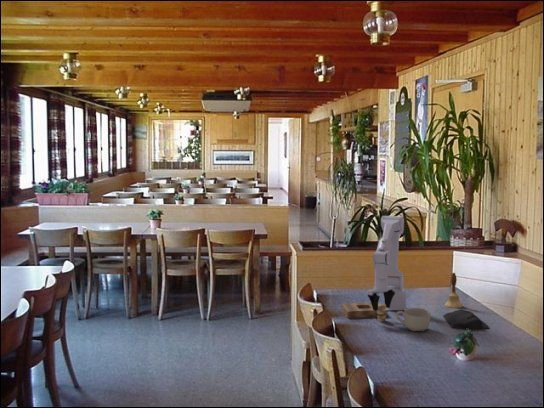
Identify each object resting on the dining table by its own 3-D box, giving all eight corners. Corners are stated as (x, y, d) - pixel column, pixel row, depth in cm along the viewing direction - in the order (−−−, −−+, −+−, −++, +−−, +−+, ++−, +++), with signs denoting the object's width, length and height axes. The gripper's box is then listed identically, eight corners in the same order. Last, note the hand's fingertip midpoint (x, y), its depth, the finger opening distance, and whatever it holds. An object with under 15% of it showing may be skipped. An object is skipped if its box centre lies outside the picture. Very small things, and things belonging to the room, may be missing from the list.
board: (379, 308, 282) (379, 302, 282) (386, 316, 268) (386, 310, 268) (341, 309, 281) (341, 303, 281) (347, 318, 267) (347, 311, 267)
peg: (384, 319, 264) (384, 303, 264) (387, 321, 260) (387, 306, 260) (375, 319, 264) (375, 304, 263) (378, 322, 260) (377, 306, 259)
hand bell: (441, 305, 285) (441, 272, 284) (451, 302, 290) (452, 270, 289) (455, 309, 279) (456, 275, 277) (466, 306, 284) (466, 273, 282)
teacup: (432, 327, 251) (432, 309, 250) (427, 335, 241) (427, 315, 240) (399, 324, 257) (399, 305, 256) (393, 331, 247) (393, 312, 246)
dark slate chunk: (475, 316, 268) (475, 305, 268) (490, 331, 246) (490, 319, 246) (441, 316, 269) (441, 305, 269) (452, 330, 247) (452, 319, 247)
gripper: (386, 274, 268) (386, 304, 269) (362, 279, 259) (363, 309, 261) (398, 277, 262) (398, 307, 263) (374, 281, 254) (374, 313, 255)
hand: (381, 308), depth 262 cm, fingers open, 7 cm apart
